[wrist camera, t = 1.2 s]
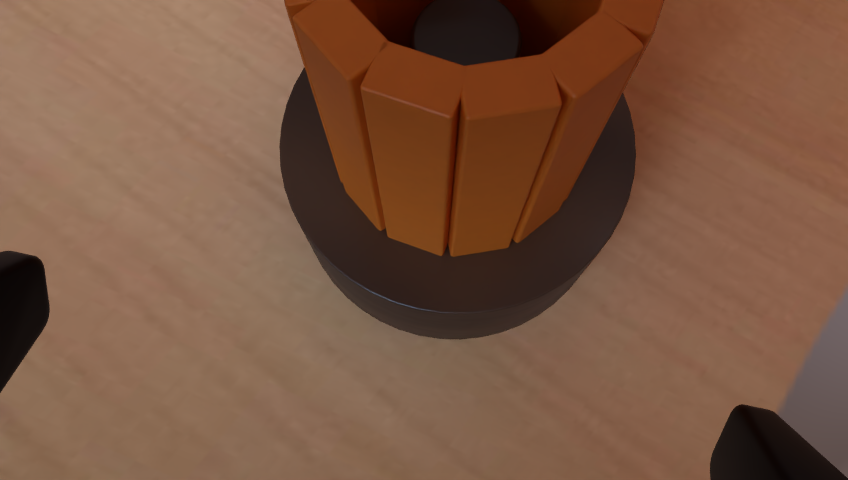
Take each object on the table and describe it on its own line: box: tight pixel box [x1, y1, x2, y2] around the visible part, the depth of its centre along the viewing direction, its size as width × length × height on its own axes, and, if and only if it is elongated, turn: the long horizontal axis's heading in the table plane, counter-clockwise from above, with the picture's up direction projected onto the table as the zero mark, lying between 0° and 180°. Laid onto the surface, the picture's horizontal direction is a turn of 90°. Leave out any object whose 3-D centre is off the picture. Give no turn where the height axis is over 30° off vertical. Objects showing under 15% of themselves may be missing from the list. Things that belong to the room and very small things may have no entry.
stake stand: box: [280, 0, 636, 339], centre depth 19 cm, size 10×10×9 cm
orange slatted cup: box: [284, 0, 664, 257], centre depth 16 cm, size 7×7×8 cm
